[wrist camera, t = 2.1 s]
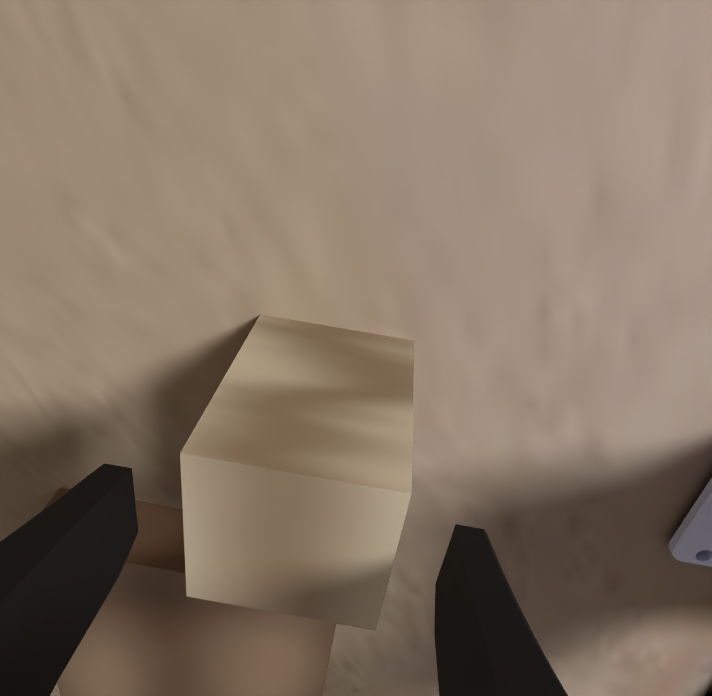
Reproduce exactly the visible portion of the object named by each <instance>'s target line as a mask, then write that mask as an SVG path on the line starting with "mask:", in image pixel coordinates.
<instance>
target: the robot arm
mask: <svg viewBox="0 0 712 696" xmlns="http://www.w3.org/2000/svg"><path fill="white" fill-rule="evenodd" d="M138 532H139V531H138V522H137V513H136V504H135V495H134V486H133V477H132V468H127V467H121V466H115V465H109V464H103V465H102V466H100V467H99V468H98V469H96V470H95V471H94V472H92V473H91V474H90V475H89V476H87V477H86V478H85V479H83V480H82V481H81V482H79V483H78V484H77V485H76V486H74V487H73V488H72V489H70V490H69V491H68V492H67V493H65V494H64V495H63V496H61V497H60V498H59V499H57V500H56V501H55V502H54V503H52V504H51V505H50V506H48V507H47V508H46V509H44V510H43V511H42V512H40V513H39V514H38V515H36V516H35V517H34V518H32V519H31V520H30V521H28V522H27V523H25V524H24V525H23V526H21V527H20V528H19V529H17V530H16V531H15V532H13V533H12V534H11V535H9V536H8V537H6V538H5V539H4V540H2V541H1V542H0V696H50V694H51V693H52V691H53V689H54V687H55V685H56V683H57V681H58V680H59V678H60V676H61V674H62V673H63V671H64V669H65V668H66V666H67V664H68V663H69V661H70V659H71V657H72V656H73V654H74V652H75V651H76V649H77V647H78V646H79V644H80V642H81V640H82V639H83V637H84V635H85V634H86V632H87V630H88V629H89V627H90V625H91V623H92V622H93V620H94V618H95V617H96V615H97V613H98V612H99V610H100V608H101V606H102V605H103V603H104V601H105V600H106V598H107V596H108V594H109V593H110V591H111V589H112V587H113V586H114V584H115V582H116V580H117V579H118V577H119V575H120V573H121V570H122V568H123V566H124V564H125V562H126V559H127V557H128V555H129V553H130V550H131V548H132V546H133V543H134V541H135V539H136V536H137V534H138ZM668 547H669V550H670V552H671V554H672V556H673V557H674V558H675V559H676V560H678V561H681V562H686V563H692V564H698V565H703V566H709V567H712V478H711V479H710V481H709V482H708V484H707V485H706V487H705V488H704V490H703V491H702V493H701V494H700V496H699V497H698V499H697V501H696V502H695V504H694V505H693V507H692V508H691V510H690V511H689V513H688V514H687V516H686V517H685V519H684V520H683V522H682V523H681V525H680V526H679V528H678V529H677V531H676V533H675V534H674V536H673V537H672V539H671V540H670V542H669V545H668ZM435 645H436V657H437V670H438V682H439V694H440V696H568V695H567V693H566V692H565V690H564V688H563V686H562V685H561V683H560V681H559V680H558V678H557V676H556V674H555V673H554V671H553V669H552V667H551V666H550V664H549V662H548V660H547V659H546V657H545V655H544V653H543V651H542V650H541V648H540V646H539V644H538V642H537V640H536V638H535V637H534V635H533V633H532V631H531V629H530V627H529V625H528V623H527V621H526V619H525V617H524V615H523V613H522V611H521V609H520V607H519V605H518V603H517V601H516V599H515V597H514V595H513V593H512V590H511V588H510V586H509V584H508V582H507V579H506V577H505V575H504V573H503V571H502V568H501V566H500V564H499V562H498V559H497V557H496V555H495V552H494V550H493V547H492V545H491V542H490V540H489V537H488V535H487V533H486V532H485V530H484V529H479V528H474V527H468V526H462V525H455V528H454V531H453V534H452V537H451V540H450V543H449V546H448V549H447V552H446V555H445V558H444V561H443V564H442V567H441V569H440V572H439V575H438V578H437V581H436V592H435Z"/></svg>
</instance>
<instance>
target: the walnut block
mask: <svg viewBox="0 0 712 696" xmlns="http://www.w3.org/2000/svg"><path fill="white" fill-rule="evenodd" d="M69 490H70V489H64V488H60V490H59V491H58V492H57V493H56V495H55V496H54V497H53V498H52V500H51V501H50V502H49V503H48V505H47V506H46V507H45V508H44V509H46V508H47V507H48V506H50V505H51V504H52V503H54V502H55V501H56V500H57V499H59V498H60V497H61V496H63V495H64V494H65V493H67V492H68V491H69ZM135 504H136V513H137V522H138V531H139V532H138V534H137V536H136V539H135V541H134V543H133V546H132V548H131V550H130V553H129V555H128V557H127V559H126V562H125V564H124V566H123V568H122V570H121V573H120V575H119V577H118V579H117V580H116V582H115V584H114V586H113V587H112V589H111V591H110V593H109V594H108V596H107V598H106V600H105V601H104V603H103V605H102V606H101V608H100V610H99V612H98V613H97V615H96V617H95V618H94V620H93V622H92V623H91V625H90V627H89V629H88V630H87V632H86V634H85V635H84V637H83V639H82V640H81V642H80V644H79V646H78V647H77V649H76V651H75V652H74V654H73V656H72V657H71V659H70V661H69V663H68V664H67V666H66V668H65V669H64V671H63V673H62V674H61V676H60V678H59V680H58V681H57V684H58V687H59V691H60V694H61V696H322V692H323V687H324V682H325V677H326V672H327V667H328V662H329V657H330V652H331V647H332V642H333V637H334V632H335V627H336V623H331V622H325V621H320V620H314V619H309V618H303V617H298V616H292V615H287V614H281V613H276V612H270V611H265V610H259V609H254V608H248V607H243V606H237V605H232V604H226V603H221V602H215V601H209V600H204V599H198V598H193V597H187V595H186V573H185V551H184V529H183V510H182V509H177V508H171V507H165V506H160V505H154V504H149V503H143V502H137V501H135ZM44 509H43V510H44Z"/></svg>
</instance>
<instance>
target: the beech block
mask: <svg viewBox="0 0 712 696" xmlns="http://www.w3.org/2000/svg"><path fill="white" fill-rule="evenodd" d="M413 375H414V341H412V340H407V339H401V338H395V337H389V336H383V335H377V334H371V333H366V332H360V331H354V330H348V329H342V328H336V327H330V326H325V325H319V324H313V323H307V322H301V321H295V320H289V319H284V318H278V317H272V316H266V315H260V316H259V318H258V319H257V321H256V323H255V324H254V326H253V328H252V330H251V331H250V333H249V335H248V337H247V338H246V340H245V342H244V344H243V345H242V347H241V349H240V350H239V352H238V354H237V356H236V357H235V359H234V361H233V363H232V364H231V366H230V368H229V369H228V371H227V373H226V375H225V376H224V378H223V380H222V382H221V383H220V385H219V387H218V388H217V390H216V392H215V394H214V395H213V397H212V399H211V401H210V402H209V404H208V406H207V407H206V409H205V411H204V413H203V414H202V416H201V418H200V420H199V421H198V423H197V425H196V426H195V428H194V430H193V432H192V433H191V435H190V437H189V439H188V440H187V442H186V444H185V445H184V447H183V449H182V451H181V452H180V463H181V485H182V507H183V529H184V551H185V573H186V595H187V597H193V598H198V599H204V600H209V601H215V602H221V603H226V604H232V605H237V606H243V607H248V608H254V609H259V610H265V611H270V612H276V613H281V614H287V615H292V616H298V617H303V618H309V619H314V620H320V621H325V622H331V623H337V624H342V625H348V626H353V627H359V628H364V629H370V630H376V626H377V622H378V618H379V615H380V611H381V607H382V603H383V600H384V596H385V592H386V588H387V584H388V581H389V577H390V573H391V569H392V566H393V562H394V558H395V554H396V551H397V547H398V543H399V539H400V536H401V532H402V528H403V524H404V521H405V517H406V513H407V509H408V506H409V502H410V498H411V494H412V439H413Z"/></svg>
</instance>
